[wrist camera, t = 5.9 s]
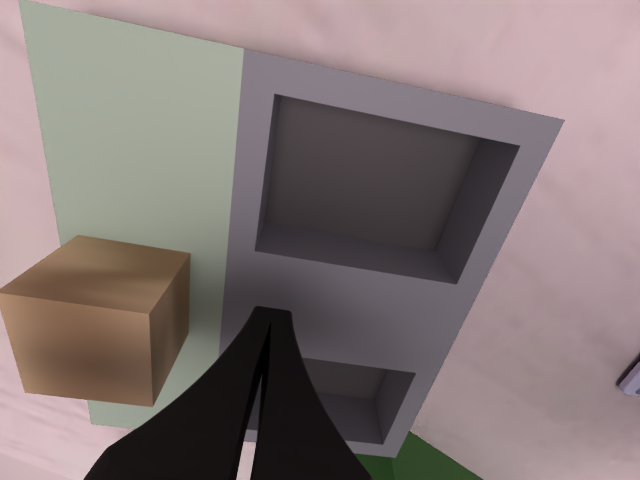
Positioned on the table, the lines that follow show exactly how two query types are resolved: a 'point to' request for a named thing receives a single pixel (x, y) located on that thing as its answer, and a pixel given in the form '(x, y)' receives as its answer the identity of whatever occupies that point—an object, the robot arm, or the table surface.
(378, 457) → the hardback book
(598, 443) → the table surface
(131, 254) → the maple block
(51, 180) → the box
